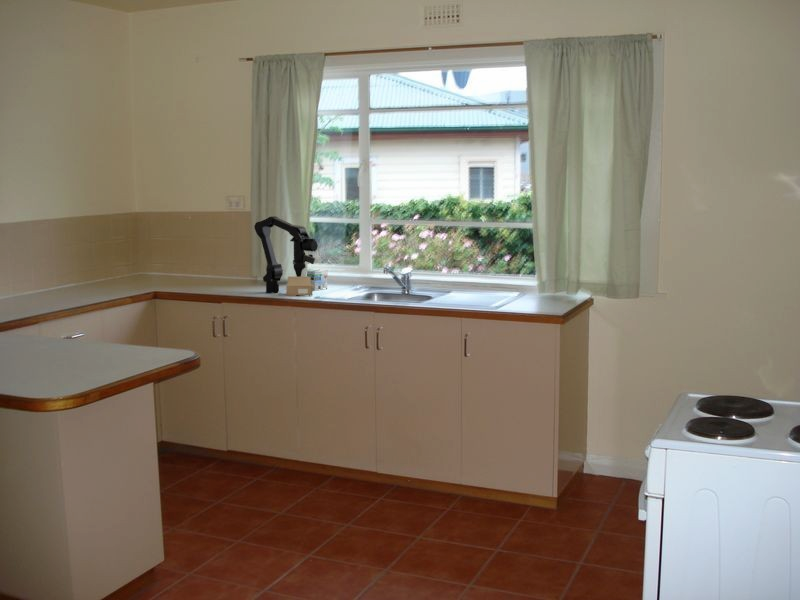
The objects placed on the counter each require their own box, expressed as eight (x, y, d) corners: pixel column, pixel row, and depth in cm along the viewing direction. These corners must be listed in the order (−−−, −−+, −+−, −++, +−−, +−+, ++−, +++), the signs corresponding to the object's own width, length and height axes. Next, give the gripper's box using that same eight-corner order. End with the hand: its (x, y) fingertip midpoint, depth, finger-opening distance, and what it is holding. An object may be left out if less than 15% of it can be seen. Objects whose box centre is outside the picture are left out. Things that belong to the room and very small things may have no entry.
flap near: (287, 285, 462) (287, 285, 462) (287, 276, 463) (287, 276, 463) (310, 286, 464) (310, 285, 463) (310, 276, 464) (310, 276, 464)
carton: (285, 296, 463) (285, 286, 462) (285, 293, 473) (285, 283, 473) (312, 296, 465) (312, 286, 464) (311, 293, 475) (311, 283, 474)
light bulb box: (315, 290, 485) (315, 271, 484) (306, 289, 489) (306, 270, 488) (327, 289, 494) (328, 270, 492) (319, 287, 498) (319, 269, 496)
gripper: (315, 252, 454) (315, 281, 457) (313, 248, 472) (313, 276, 475) (293, 252, 453) (293, 281, 455) (292, 248, 471) (293, 277, 473)
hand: (299, 279), depth 465 cm, fingers closed
